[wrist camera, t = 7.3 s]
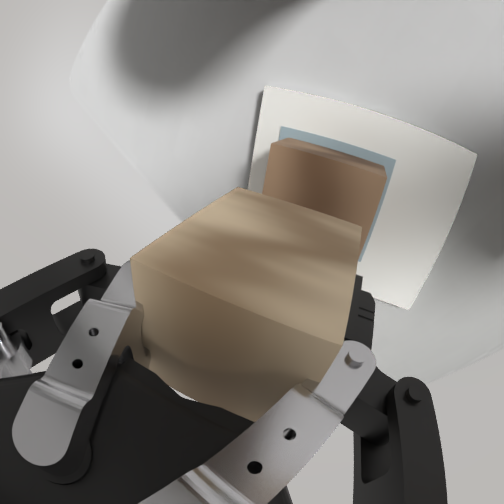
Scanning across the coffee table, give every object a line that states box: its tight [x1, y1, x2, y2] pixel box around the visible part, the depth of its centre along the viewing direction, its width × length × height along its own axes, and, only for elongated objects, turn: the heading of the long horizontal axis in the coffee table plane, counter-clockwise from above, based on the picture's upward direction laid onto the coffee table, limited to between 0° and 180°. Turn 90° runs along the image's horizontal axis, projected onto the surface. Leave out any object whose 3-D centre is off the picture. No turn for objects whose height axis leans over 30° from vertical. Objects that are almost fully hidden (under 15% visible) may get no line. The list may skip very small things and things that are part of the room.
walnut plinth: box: [262, 138, 387, 259], centre depth 19 cm, size 7×7×4 cm
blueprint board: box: [247, 86, 478, 310], centre depth 20 cm, size 16×14×1 cm
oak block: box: [130, 187, 362, 422], centre depth 9 cm, size 5×5×6 cm
